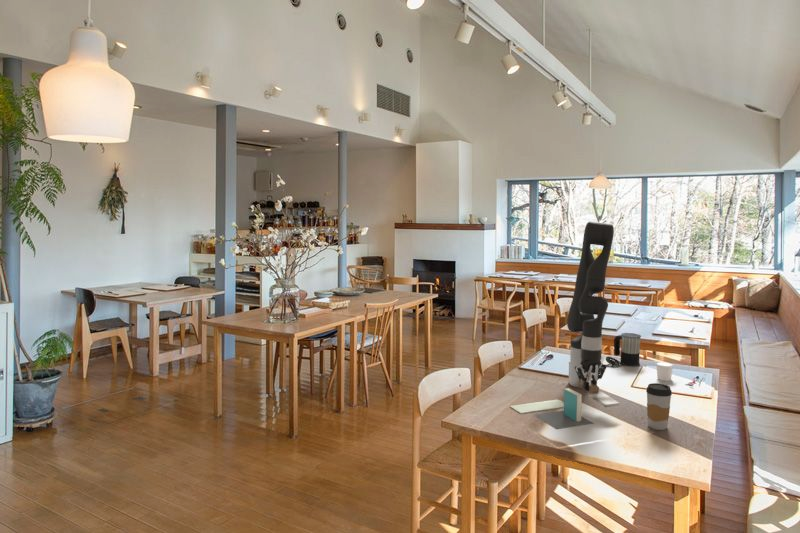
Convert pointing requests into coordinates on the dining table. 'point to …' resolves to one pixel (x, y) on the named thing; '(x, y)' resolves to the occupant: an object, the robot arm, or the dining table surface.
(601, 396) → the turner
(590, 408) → the dining table surface
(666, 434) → the dining table surface
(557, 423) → the mat
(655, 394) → the coffee cup
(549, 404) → the board
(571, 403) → the tile
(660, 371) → the white cup
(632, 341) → the milk frother
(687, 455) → the dining table surface
